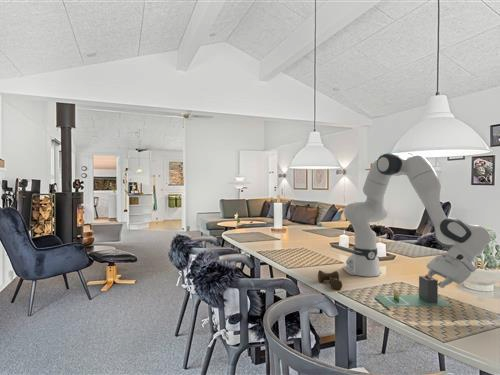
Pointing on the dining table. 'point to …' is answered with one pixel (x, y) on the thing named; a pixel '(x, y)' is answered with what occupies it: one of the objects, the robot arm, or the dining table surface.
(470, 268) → the robot arm
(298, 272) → the dining table surface
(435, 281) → the block
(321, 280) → the kendama
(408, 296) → the board
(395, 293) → the header pins
